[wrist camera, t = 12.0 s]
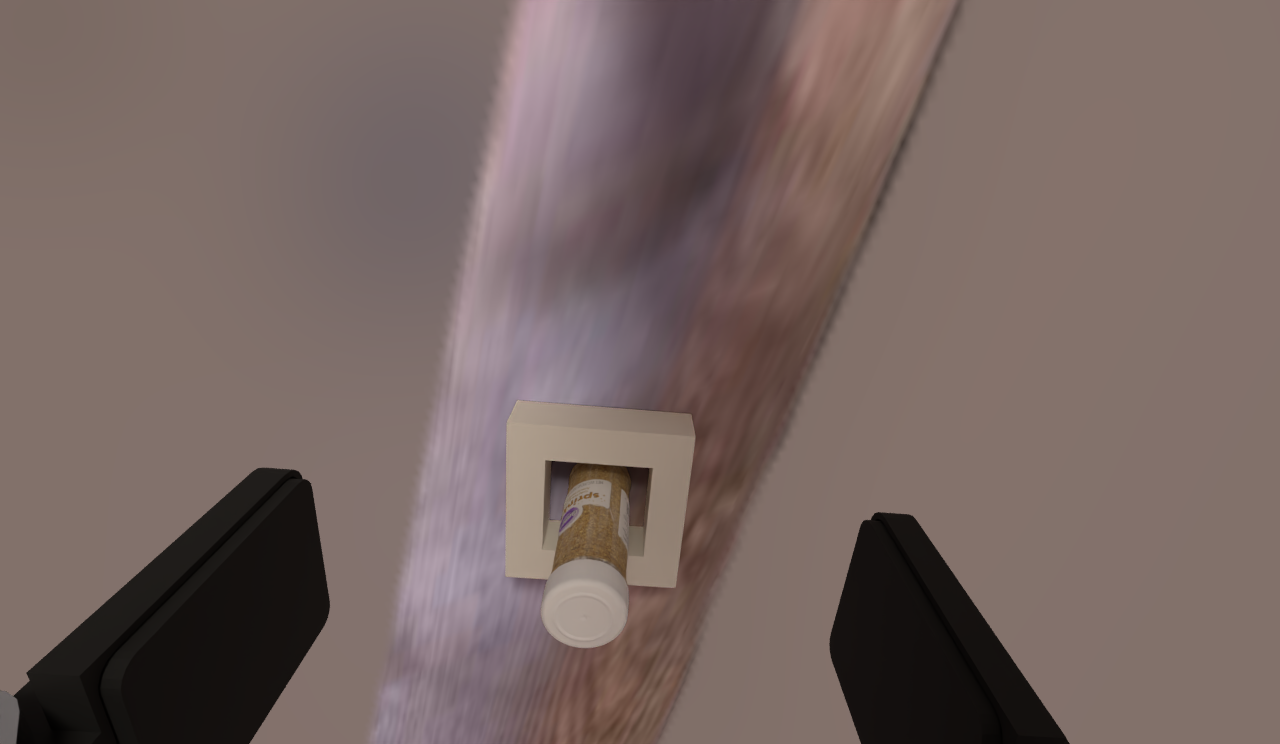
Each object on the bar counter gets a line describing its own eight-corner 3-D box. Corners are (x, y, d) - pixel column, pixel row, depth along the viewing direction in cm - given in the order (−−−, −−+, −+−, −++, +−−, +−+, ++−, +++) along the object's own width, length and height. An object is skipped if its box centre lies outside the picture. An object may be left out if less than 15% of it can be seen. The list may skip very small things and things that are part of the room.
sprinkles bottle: (585, 442, 42) (561, 569, 29) (642, 468, 43) (643, 603, 30) (558, 492, 43) (524, 633, 31) (614, 516, 44) (603, 664, 31)
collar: (517, 400, 41) (506, 422, 37) (691, 413, 41) (695, 436, 38) (515, 545, 45) (505, 576, 42) (672, 556, 45) (675, 588, 42)
